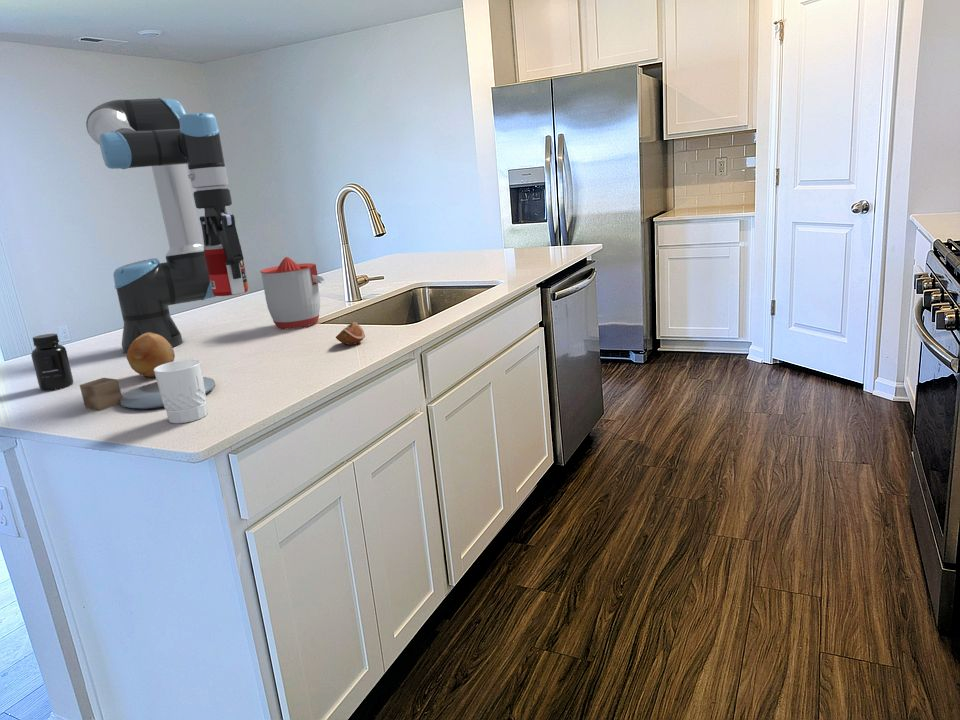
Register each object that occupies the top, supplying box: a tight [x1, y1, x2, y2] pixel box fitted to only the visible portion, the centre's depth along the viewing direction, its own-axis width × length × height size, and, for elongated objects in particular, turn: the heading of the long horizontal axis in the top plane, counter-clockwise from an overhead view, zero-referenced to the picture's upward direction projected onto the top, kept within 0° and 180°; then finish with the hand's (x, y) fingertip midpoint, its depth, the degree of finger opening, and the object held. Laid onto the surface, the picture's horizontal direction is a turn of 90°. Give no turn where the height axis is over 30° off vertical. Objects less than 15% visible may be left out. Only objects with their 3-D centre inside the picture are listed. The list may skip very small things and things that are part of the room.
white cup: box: [154, 358, 208, 424], centre depth 126 cm, size 8×8×10 cm
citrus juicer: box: [259, 256, 325, 330], centre depth 199 cm, size 16×17×20 cm
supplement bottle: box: [30, 333, 74, 391], centre depth 156 cm, size 7×7×12 cm
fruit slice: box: [335, 321, 366, 345], centre depth 171 cm, size 8×7×5 cm
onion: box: [126, 332, 175, 378], centre depth 158 cm, size 10×10×10 cm
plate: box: [120, 376, 216, 409], centre depth 142 cm, size 18×18×1 cm
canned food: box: [204, 244, 249, 297], centre depth 155 cm, size 8×8×11 cm
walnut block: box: [79, 377, 123, 411], centre depth 139 cm, size 5×5×5 cm
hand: (230, 291), depth 156 cm, fingers closed on canned food, 8 cm apart
